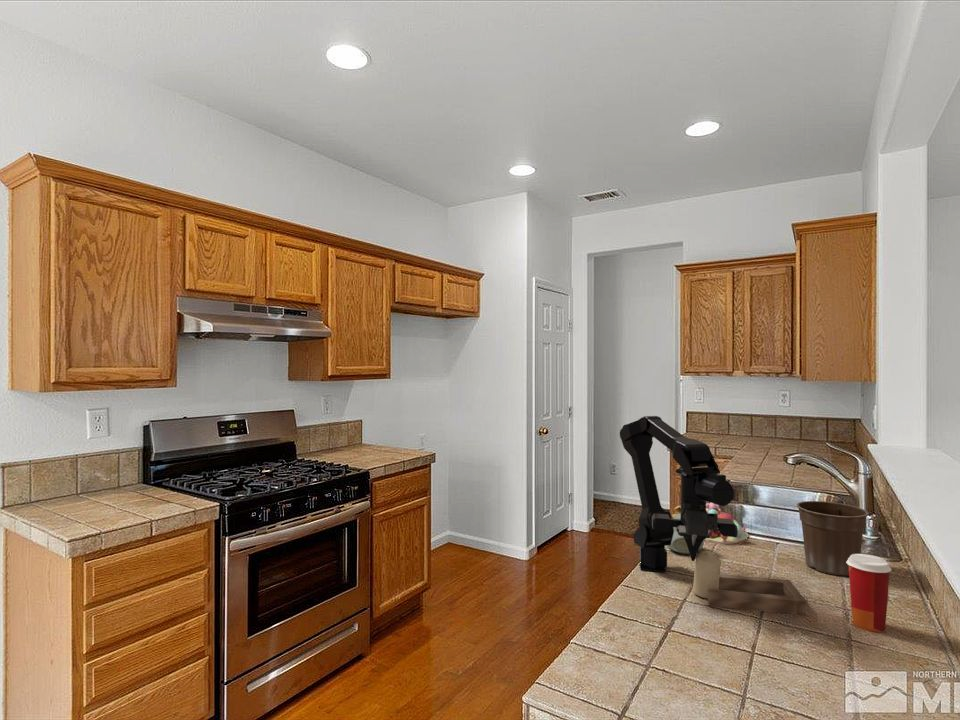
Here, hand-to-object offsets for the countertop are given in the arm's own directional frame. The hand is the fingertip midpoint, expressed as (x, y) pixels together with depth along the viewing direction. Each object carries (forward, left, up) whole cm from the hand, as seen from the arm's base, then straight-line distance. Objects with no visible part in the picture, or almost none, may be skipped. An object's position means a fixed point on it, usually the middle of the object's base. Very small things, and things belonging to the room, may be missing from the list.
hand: (692, 560), depth 130 cm
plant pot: (+39, +26, -8) cm, 47 cm away
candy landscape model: (+12, +53, -9) cm, 55 cm away
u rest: (+12, 0, -8) cm, 14 cm away
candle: (+3, 0, -8) cm, 8 cm away
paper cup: (+34, -8, -8) cm, 36 cm away
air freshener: (+2, +31, -8) cm, 32 cm away
